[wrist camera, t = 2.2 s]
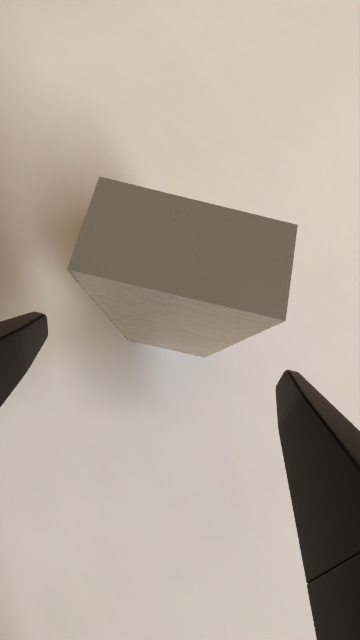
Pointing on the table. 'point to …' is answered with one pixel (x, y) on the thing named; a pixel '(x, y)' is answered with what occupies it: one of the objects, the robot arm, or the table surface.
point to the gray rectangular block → (182, 268)
